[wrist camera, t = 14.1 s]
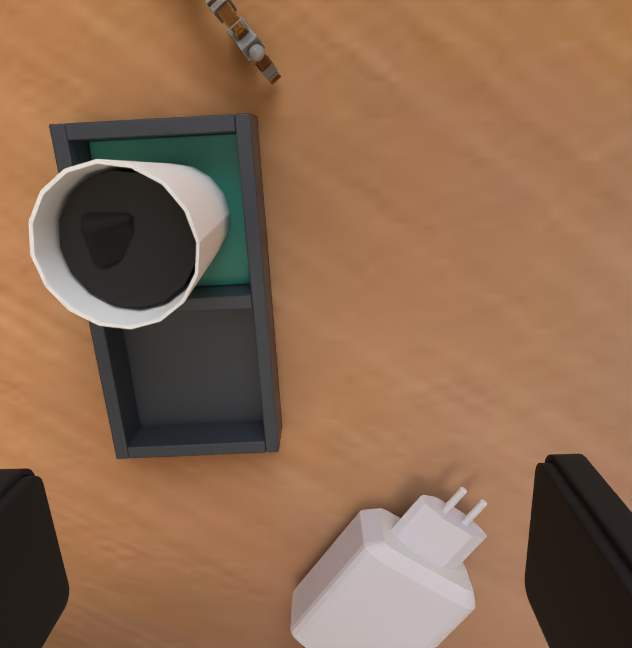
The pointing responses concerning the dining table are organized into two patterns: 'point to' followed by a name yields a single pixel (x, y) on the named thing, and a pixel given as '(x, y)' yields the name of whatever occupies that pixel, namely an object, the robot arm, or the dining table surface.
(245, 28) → the wooden post with brackets
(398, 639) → the charger
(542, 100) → the dining table surface
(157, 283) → the coffee cup
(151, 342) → the grey divided tray
